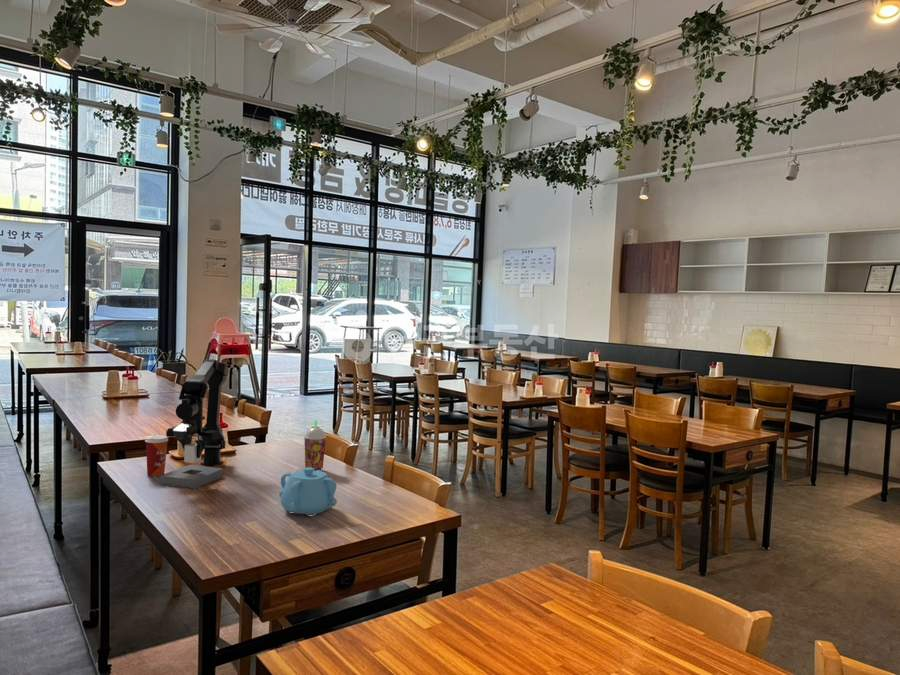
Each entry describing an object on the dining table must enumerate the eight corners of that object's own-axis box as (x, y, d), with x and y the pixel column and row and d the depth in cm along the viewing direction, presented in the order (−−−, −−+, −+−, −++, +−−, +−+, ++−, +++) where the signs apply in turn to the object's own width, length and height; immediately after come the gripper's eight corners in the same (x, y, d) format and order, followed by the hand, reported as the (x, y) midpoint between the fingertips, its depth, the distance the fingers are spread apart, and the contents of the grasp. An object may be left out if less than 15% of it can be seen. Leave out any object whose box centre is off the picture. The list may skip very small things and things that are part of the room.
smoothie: (301, 468, 239) (302, 418, 238) (322, 467, 243) (324, 418, 242) (305, 474, 232) (307, 422, 231) (327, 473, 235) (329, 422, 234)
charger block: (191, 459, 220) (191, 442, 220) (201, 460, 219) (201, 443, 219) (184, 461, 216) (184, 444, 216) (194, 463, 215) (194, 445, 215)
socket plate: (189, 472, 227) (189, 464, 227) (222, 476, 224) (222, 468, 224) (159, 484, 212) (160, 475, 211) (195, 488, 208) (195, 480, 208)
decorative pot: (328, 500, 203) (329, 460, 203) (338, 516, 188) (339, 473, 188) (278, 504, 197) (279, 463, 196) (284, 521, 182) (285, 476, 181)
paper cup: (161, 478, 218) (162, 439, 218) (139, 477, 219) (141, 438, 218) (171, 472, 226) (172, 435, 226) (150, 471, 226) (151, 434, 226)
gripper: (155, 415, 211) (154, 460, 212) (202, 420, 207) (201, 465, 208) (177, 410, 222) (176, 452, 223) (222, 415, 218) (221, 458, 218)
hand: (192, 457), depth 218 cm, fingers closed on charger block, 4 cm apart
